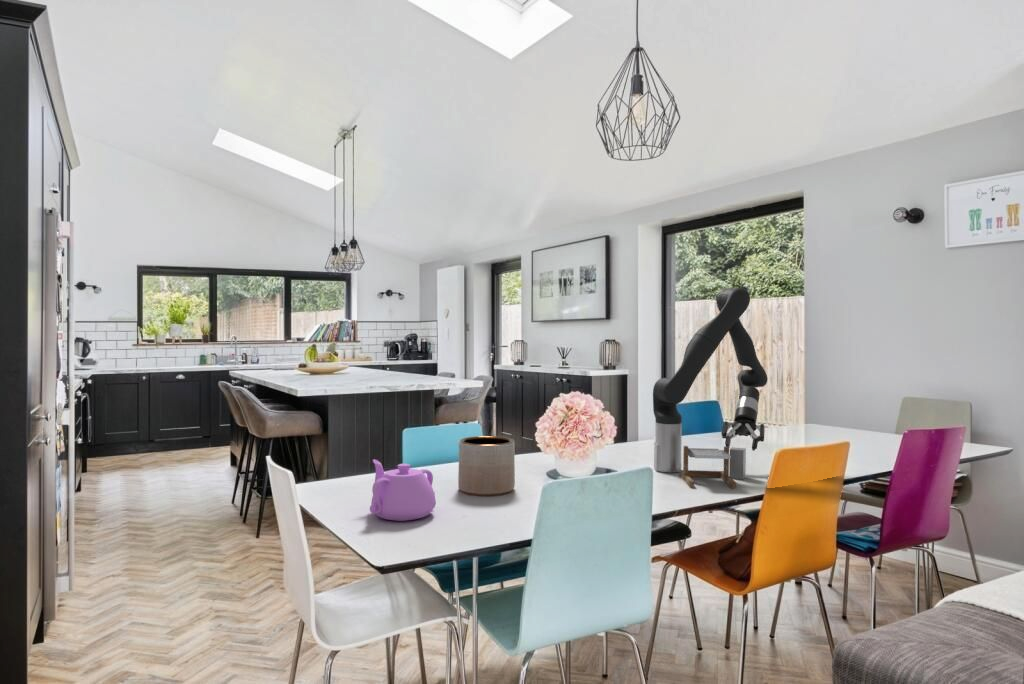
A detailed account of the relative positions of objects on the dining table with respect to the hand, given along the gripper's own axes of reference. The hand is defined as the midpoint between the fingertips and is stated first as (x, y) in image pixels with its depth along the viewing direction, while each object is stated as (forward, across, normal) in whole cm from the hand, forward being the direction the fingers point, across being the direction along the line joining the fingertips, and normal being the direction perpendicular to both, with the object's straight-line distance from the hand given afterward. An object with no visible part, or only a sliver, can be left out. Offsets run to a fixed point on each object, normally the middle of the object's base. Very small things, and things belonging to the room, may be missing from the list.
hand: (740, 448), depth 232 cm
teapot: (+77, -72, -64) cm, 123 cm away
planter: (+52, -65, -38) cm, 92 cm away
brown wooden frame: (+19, -8, -6) cm, 21 cm away
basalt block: (+10, 0, +3) cm, 11 cm away
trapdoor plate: (+14, -7, -11) cm, 19 cm away
